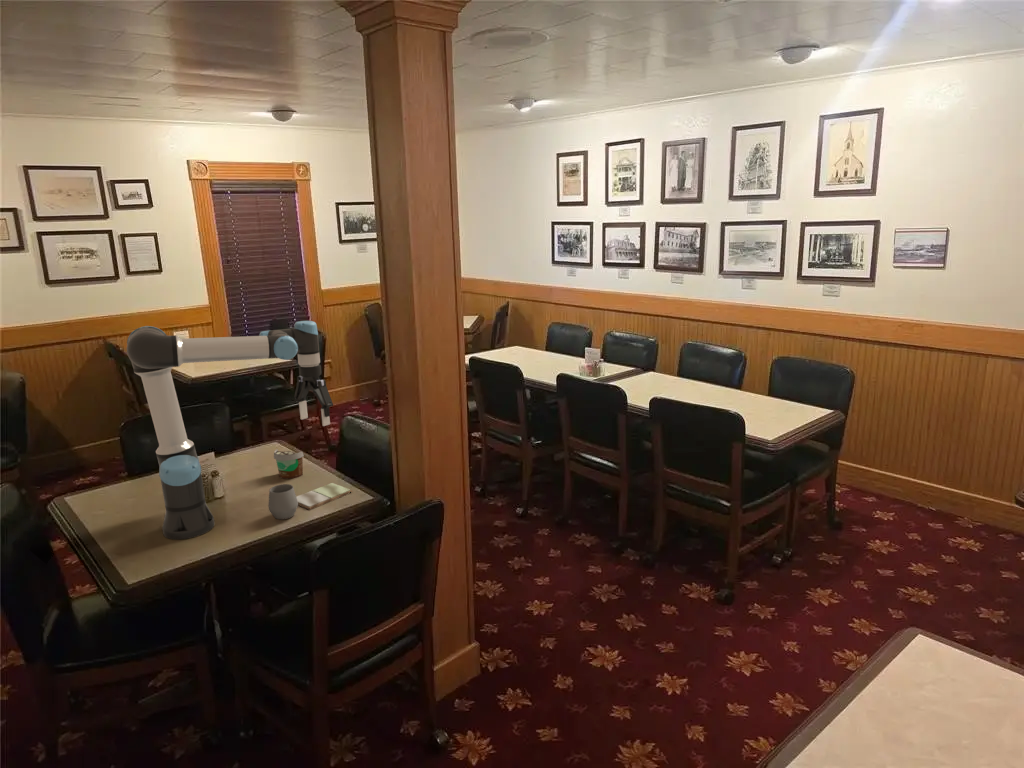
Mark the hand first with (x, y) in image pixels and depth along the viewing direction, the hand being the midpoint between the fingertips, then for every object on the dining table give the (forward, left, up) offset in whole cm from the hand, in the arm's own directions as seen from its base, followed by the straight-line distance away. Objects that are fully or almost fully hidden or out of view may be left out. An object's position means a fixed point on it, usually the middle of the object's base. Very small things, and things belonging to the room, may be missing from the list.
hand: (315, 421), depth 241 cm
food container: (-2, +19, -26) cm, 32 cm away
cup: (-23, -11, -26) cm, 36 cm away
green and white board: (-6, -8, -25) cm, 27 cm away
